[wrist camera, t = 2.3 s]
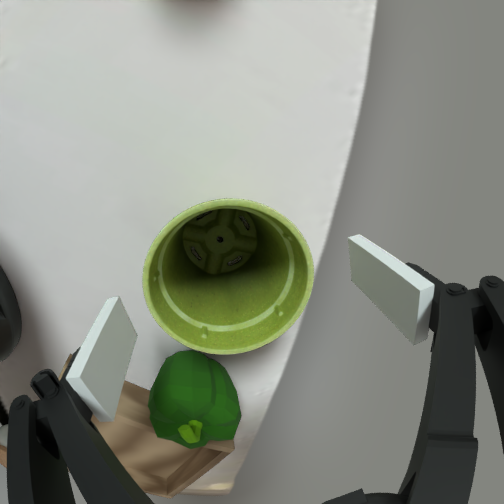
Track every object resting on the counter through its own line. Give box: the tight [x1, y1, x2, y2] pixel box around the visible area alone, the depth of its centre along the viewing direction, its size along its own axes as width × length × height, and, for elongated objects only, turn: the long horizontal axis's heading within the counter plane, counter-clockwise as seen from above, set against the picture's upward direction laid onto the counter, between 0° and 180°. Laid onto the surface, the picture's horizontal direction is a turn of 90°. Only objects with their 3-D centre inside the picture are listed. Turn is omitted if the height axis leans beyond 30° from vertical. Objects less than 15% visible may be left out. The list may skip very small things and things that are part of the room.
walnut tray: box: [58, 354, 235, 498], centre depth 28 cm, size 20×20×5 cm
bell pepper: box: [148, 350, 241, 449], centre depth 23 cm, size 8×8×10 cm
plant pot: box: [142, 199, 314, 355], centre depth 19 cm, size 9×9×9 cm
